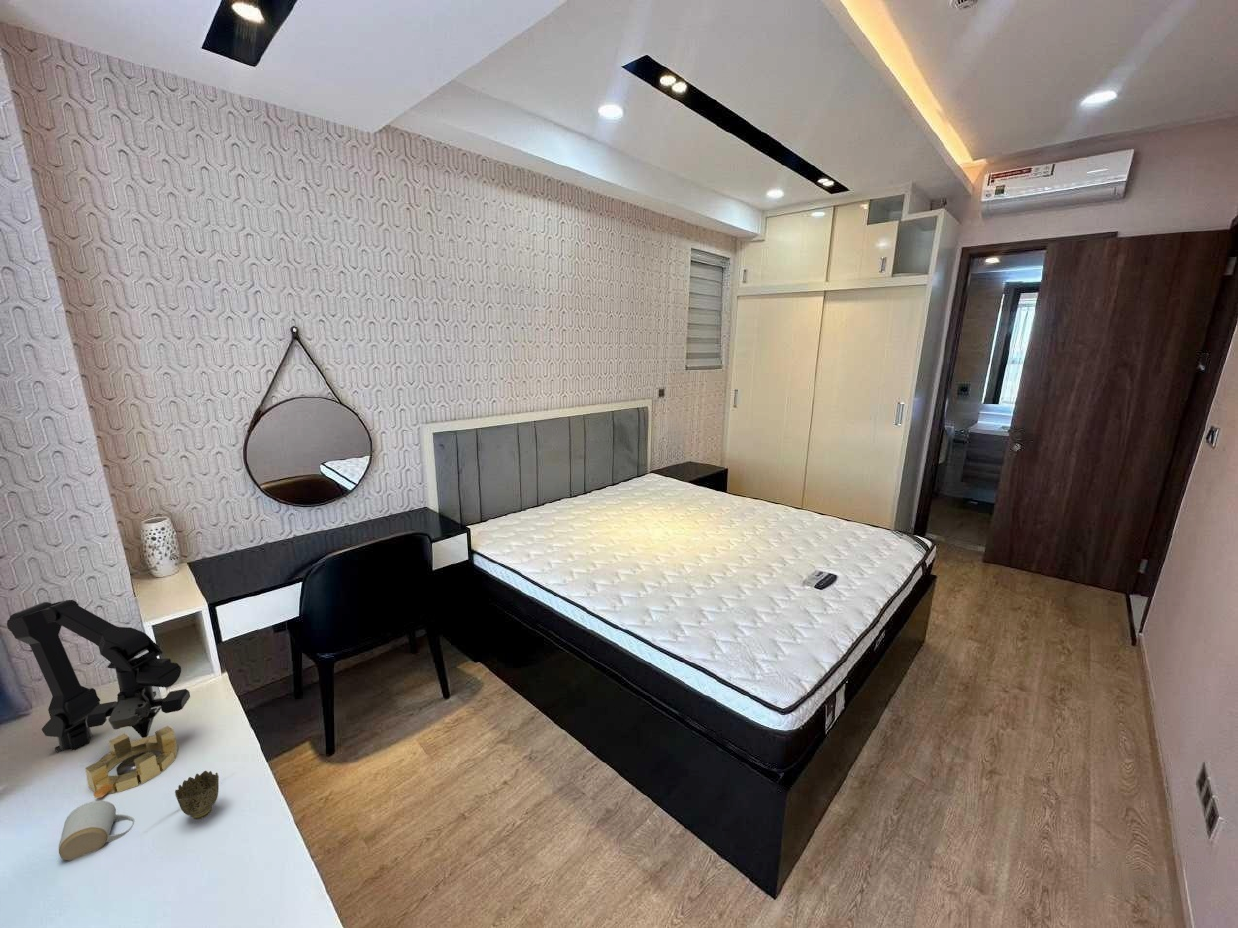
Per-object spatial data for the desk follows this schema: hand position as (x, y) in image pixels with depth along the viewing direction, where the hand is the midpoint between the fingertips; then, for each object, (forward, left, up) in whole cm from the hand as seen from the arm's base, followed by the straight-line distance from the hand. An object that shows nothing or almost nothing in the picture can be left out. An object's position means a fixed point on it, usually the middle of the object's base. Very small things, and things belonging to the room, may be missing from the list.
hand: (145, 736), depth 130 cm
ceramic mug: (+21, -16, -5) cm, 27 cm away
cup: (+33, -3, -5) cm, 33 cm away
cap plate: (+5, -4, -5) cm, 8 cm away
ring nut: (+5, -4, -4) cm, 7 cm away
